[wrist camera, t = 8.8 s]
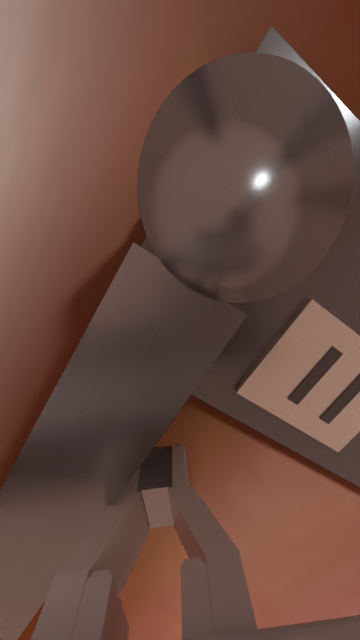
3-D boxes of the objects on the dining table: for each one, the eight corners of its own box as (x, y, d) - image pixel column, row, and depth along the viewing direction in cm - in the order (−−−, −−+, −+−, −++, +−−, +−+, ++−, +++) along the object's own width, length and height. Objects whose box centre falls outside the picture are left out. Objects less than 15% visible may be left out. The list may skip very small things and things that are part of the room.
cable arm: (293, 207, 7) (397, 159, 4) (6, 630, 13) (-51, 759, 9) (193, 126, 7) (220, -18, 3) (-69, 614, 12) (-161, 750, 9)
